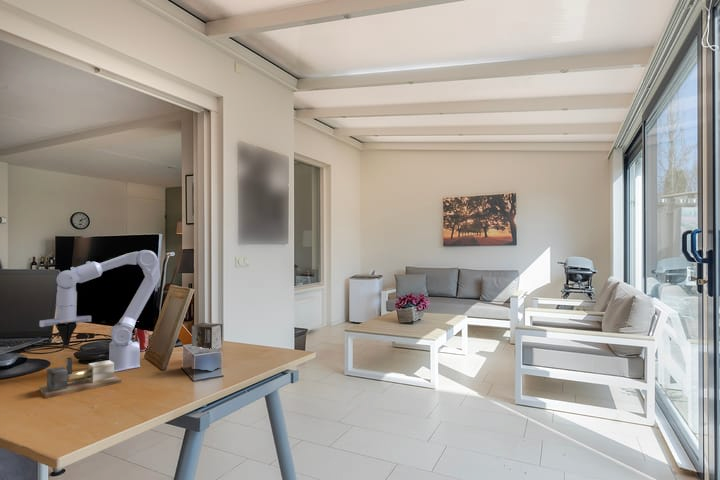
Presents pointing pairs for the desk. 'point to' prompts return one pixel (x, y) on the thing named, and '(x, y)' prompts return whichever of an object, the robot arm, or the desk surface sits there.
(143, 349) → the soda can
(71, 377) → the slip tube
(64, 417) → the desk surface
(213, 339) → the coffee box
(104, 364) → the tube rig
